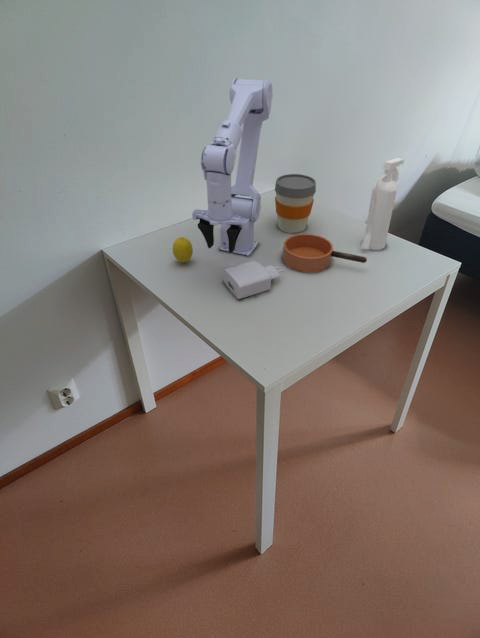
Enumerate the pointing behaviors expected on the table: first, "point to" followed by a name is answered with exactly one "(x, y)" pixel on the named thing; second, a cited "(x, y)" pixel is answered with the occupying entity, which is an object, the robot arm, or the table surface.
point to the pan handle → (348, 256)
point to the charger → (249, 278)
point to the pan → (307, 253)
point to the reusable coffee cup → (294, 201)
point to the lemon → (182, 249)
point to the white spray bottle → (381, 206)
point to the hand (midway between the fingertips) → (221, 248)
